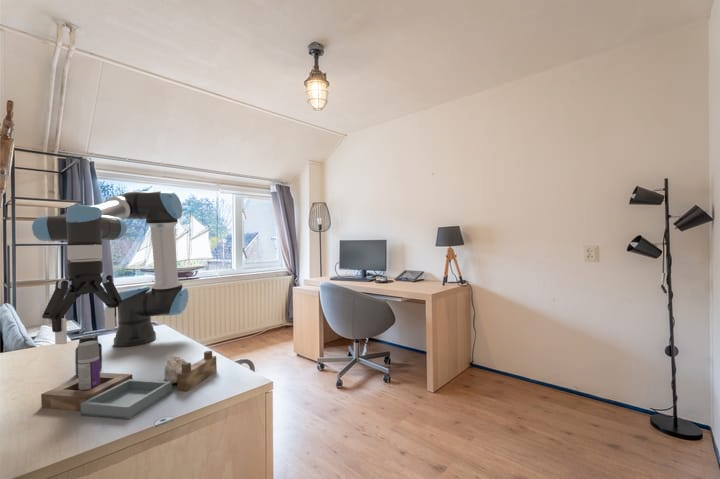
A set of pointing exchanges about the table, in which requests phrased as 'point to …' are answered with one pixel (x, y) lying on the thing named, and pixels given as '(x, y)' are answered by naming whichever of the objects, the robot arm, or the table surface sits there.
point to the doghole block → (80, 392)
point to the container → (88, 365)
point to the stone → (173, 368)
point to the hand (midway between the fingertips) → (87, 336)
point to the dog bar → (196, 372)
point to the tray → (126, 399)
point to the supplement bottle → (85, 339)
